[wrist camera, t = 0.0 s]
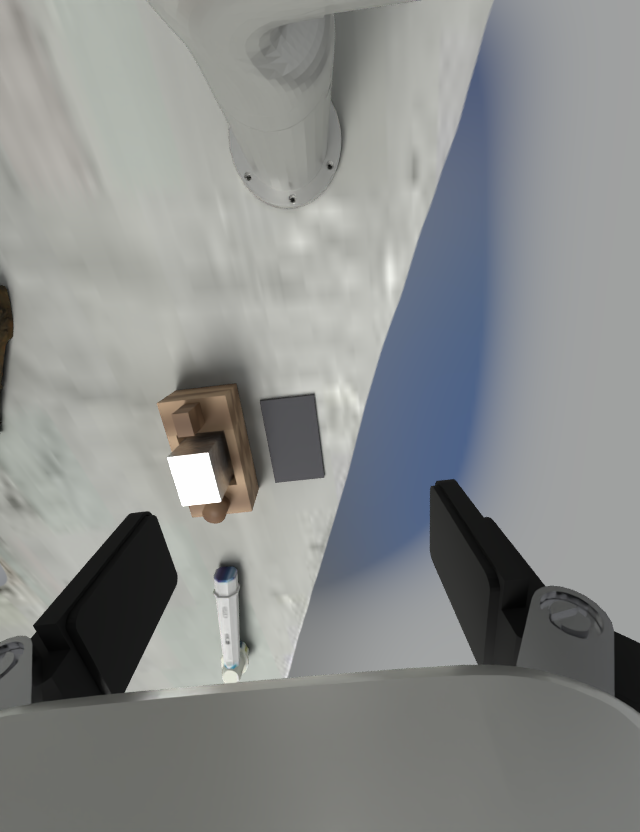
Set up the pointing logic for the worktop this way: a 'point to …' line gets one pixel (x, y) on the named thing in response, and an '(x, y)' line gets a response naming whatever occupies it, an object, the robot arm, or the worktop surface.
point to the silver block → (202, 468)
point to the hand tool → (4, 326)
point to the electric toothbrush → (230, 624)
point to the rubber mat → (293, 438)
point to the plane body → (208, 414)
